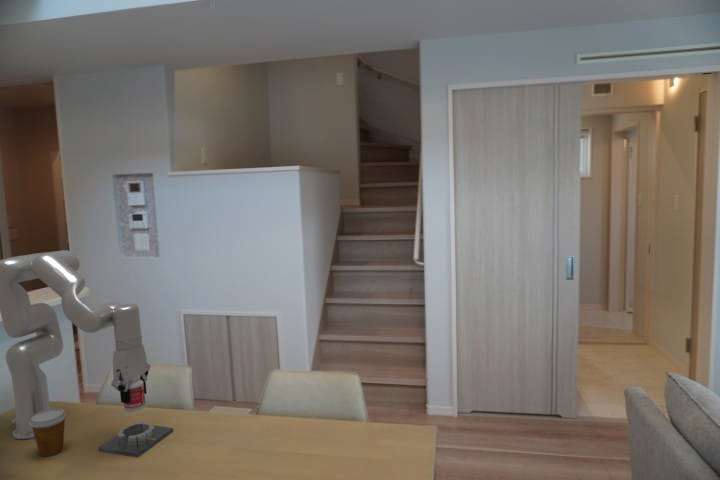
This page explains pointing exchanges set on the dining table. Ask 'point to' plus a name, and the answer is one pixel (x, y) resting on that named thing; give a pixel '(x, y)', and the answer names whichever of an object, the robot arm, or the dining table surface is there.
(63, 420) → the disposable coffee cup
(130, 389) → the pill bottle
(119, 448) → the socket plate
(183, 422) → the dining table surface
